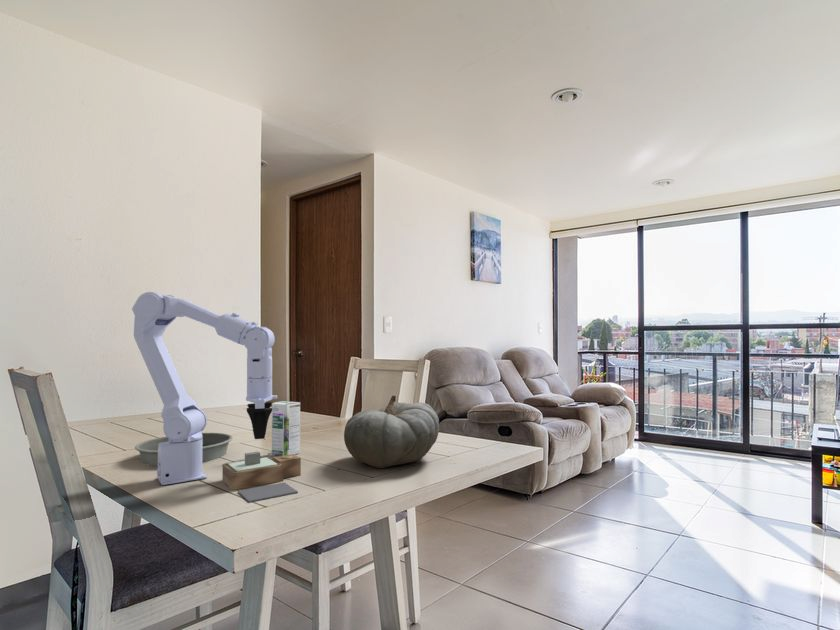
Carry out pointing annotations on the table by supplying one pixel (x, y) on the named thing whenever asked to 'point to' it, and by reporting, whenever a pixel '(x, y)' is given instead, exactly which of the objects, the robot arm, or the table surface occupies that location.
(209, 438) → the cake pan
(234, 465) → the cover
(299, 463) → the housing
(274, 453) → the gray rectangular bar
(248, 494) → the mat
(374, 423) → the gourd
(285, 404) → the syrup box
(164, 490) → the table surface
